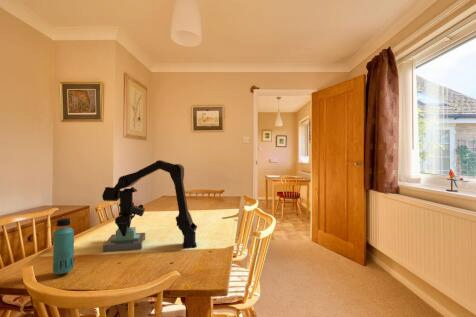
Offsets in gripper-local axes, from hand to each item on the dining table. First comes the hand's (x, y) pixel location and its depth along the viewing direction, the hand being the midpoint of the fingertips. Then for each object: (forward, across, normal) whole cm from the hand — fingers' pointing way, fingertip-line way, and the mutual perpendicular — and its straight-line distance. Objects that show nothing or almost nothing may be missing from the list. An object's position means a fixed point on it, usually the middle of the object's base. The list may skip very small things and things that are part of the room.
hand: (126, 233), depth 122 cm
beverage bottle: (+6, -28, +16) cm, 33 cm away
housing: (+2, 0, 0) cm, 3 cm away
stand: (+6, 0, 0) cm, 6 cm away
